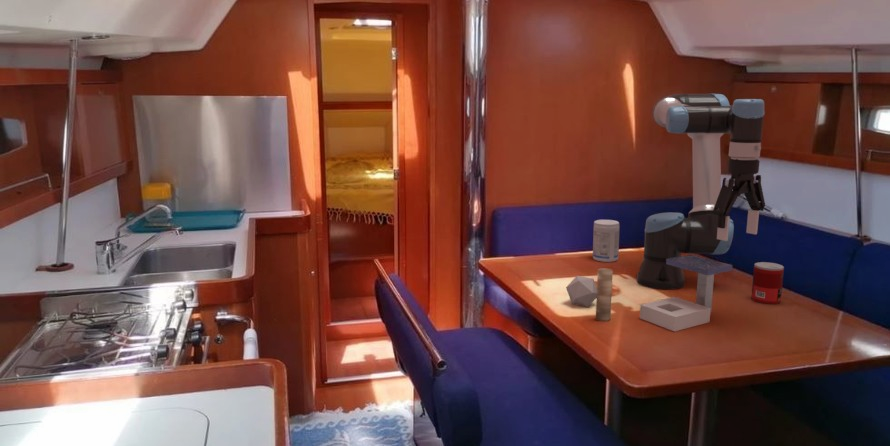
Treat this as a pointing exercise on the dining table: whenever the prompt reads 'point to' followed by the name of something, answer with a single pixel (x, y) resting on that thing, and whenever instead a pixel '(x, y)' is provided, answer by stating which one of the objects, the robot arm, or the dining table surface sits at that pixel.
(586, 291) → the die
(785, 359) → the dining table surface
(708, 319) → the socket block
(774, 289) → the canned food
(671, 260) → the slate blue panel
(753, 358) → the dining table surface
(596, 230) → the supplement tub
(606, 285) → the peg
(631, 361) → the dining table surface
